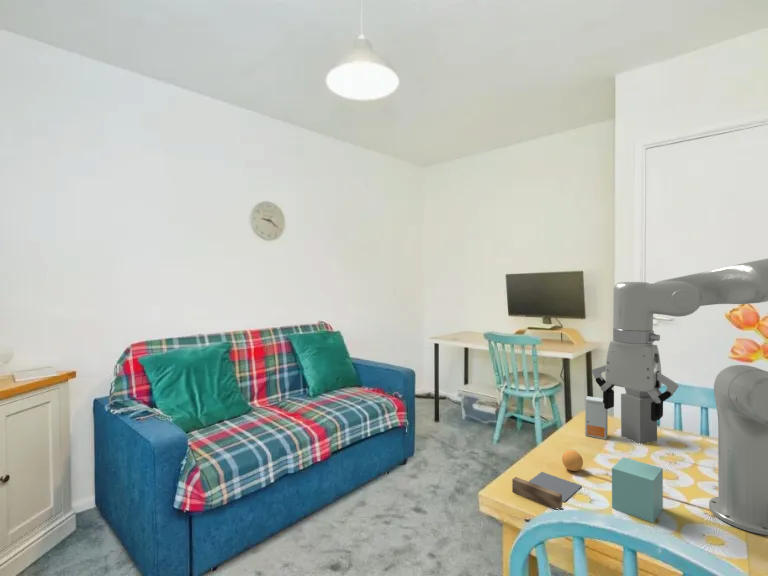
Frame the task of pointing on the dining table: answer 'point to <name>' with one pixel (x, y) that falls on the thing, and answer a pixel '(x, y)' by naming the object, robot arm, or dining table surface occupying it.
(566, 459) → the ball
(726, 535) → the dining table surface
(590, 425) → the skincare box
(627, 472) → the teal tissue box
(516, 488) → the stopper rail
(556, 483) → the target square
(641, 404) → the perfume bottle
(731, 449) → the robot arm
